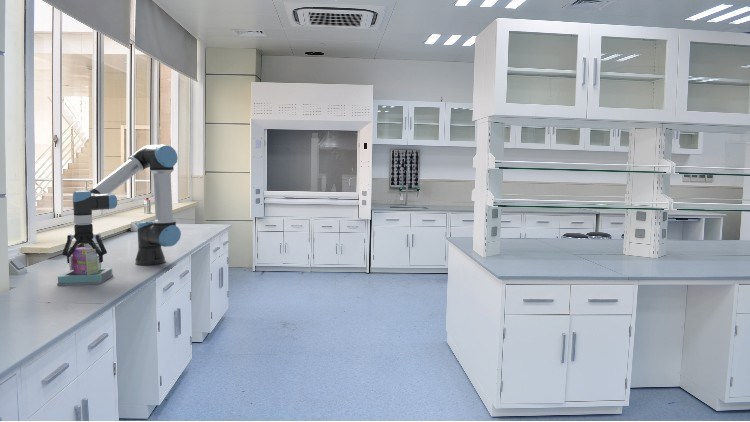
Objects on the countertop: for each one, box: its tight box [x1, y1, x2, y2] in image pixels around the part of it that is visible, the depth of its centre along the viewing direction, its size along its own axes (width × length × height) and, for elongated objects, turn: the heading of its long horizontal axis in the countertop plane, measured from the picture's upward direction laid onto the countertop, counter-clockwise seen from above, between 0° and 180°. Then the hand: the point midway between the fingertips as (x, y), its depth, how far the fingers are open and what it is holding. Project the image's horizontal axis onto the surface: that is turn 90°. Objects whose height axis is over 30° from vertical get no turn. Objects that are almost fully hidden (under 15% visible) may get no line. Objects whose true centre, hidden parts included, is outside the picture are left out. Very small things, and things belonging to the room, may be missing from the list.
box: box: [71, 246, 98, 275], centre depth 247 cm, size 10×6×12 cm, turn 62°
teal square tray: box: [56, 267, 114, 287], centre depth 248 cm, size 18×18×4 cm
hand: (85, 269), depth 247 cm, fingers closed on box, 11 cm apart
